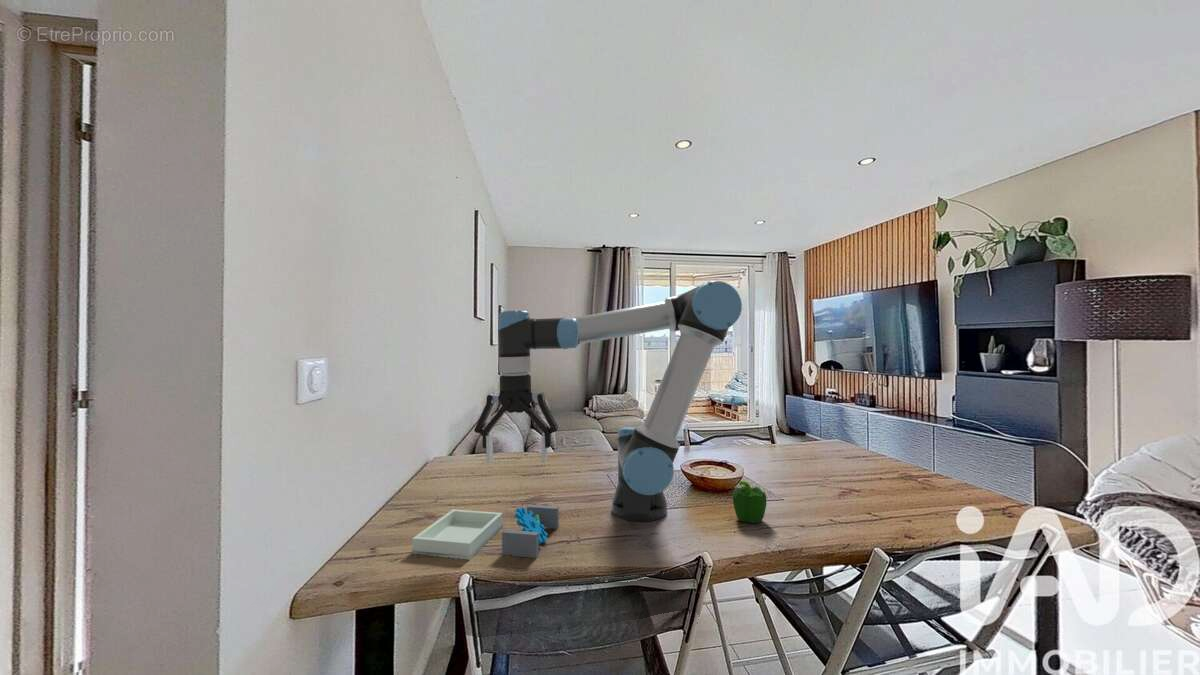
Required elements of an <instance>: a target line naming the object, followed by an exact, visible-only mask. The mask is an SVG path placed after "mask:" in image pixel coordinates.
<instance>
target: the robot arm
mask: <svg viewBox="0 0 1200 675" xmlns="http://www.w3.org/2000/svg"><path fill="white" fill-rule="evenodd" d="M742 308H743V304H742V299H741V297H740V294H739V293H738V291H737V290H736V288H734V286H732V285H731V284H729V283H727V282H725V281H722V280H721V281H720V280H708V281H705V282H703V283H701V284H700V285H698V286H697V287H694V288H692V289H690V290H688V291H686V292H684V293H680V294H677V295H674V296H669V297H666V298H665V300H664V301H659V302H654V303H649V304H645V305H644V304H643V305H639V306H633V307H626V308H621V309H616V310H609V311H603V312H600V313H594V314H593V313H592V314H588V315H582V316H576V317H556V318H555V317H554V318H553V317H550V318H531V316H530V313H529V311H527V310H505V311H502V312H500V313H499V315H498V329H497V333H498V335H497V336H498V364H499V365H498V366H499V369H498V370H499V374H500V376H499V394H498V395H497V394H494V393H489V394H488V395H486V403H485V406H484V408H483V410H482V413H481V415H480V416H479V418H478V421H477V423H476V425H475V428H474V430H473V431H474V432H475V434H477V433H478V434H480V435H481V437H482V438H481V439H482V442H481V443H482V448H483V449H486V450H485V451H486V452H485V453H486V463H491V462H493V461H494V434H493V433H490V432H491V431H492V430H493V429H494V427H495V426H496V425H497V423H498V422H499V421H500V419H501V418H502V417H503V416H504V414H505V413H506V412H507V413H508V414H513V413H519V414H520V413H524V412H525V414H527V416H529V418H530V419H531V420H532V421H533V422H534V423H535V425H537V427H538V428H539V429H540V430H541V431H542V432H543V433H542V434H541V435H540V436H541V437H540V438H541V463H543V464H544V463H546V462H547V460H548V449H549V448H551V446H552V434H553V433H555V432H557V431H558V430H559V425H558V424H557V421H556V420H555V417H554V416H553V414H552V412H551V410H550V408H549V406H548V404H547V402H546V398H545V393H543V392H540V393H538V394H537V393H536V394H533V392H532V382H531V381H532V376H531V375H530V374H529V373H531V350H559V349H562V350H569V349H576V348H577V347H578V346H579V345H582V344H588V343H594V342H598V341H599V342H601V341H606V340H612V339H616V338H623V337H629V336H634V335H639V334H645V333H646V334H647V333H653V332H657V331H662V330H670V331H671V332H678V331H679V333H680V336H679V339H678V340H677V343H676V345H675V348H674V349H673V353H672V355H671V357H670V360H669V361H668V364H667V367H666V370H665V372H664V373H663V377H662V379H661V381H660V384H659V386H658V387H657V388H658V389H657V391H656V393H655V395H654V398H653V400H652V403H651V405H650V408H649V410H648V412H647V415H646V417H645V420H644V422H643V423H642V424H639V425H637V426H625V427H620V428H619V429H618V430H617V437H616V441H617V485H616V489H615V491H614V495H613V498H612V502H611V511H612V513H613V515H615V516H616V517H617V518H620V519H623V520H626V521H631V522H632V521H633V522H650V521H655V520H659V519H662V518H664V517H665V516H666V515H667V513H668V502H667V499H666V497H665V492H664V491H665V490H666V489H667V488H668V487H669V486H670V485H671V483H672V481H673V477H674V469H675V468H674V462H675V459H676V457H677V454H678V451H679V450H680V445H679V441H678V439H677V437H678V434H679V432H680V430H681V427H682V425H683V423H684V420H685V417H686V415H687V413H688V411H689V408H690V406H691V403H692V401H693V399H694V397H695V394H696V391H697V389H698V386H699V384H700V382H701V379H702V376H703V375H704V372H705V369H706V367H707V364H708V362H709V360H710V357H711V355H712V352H713V350H714V348H716V347H717V346H720V345H721V344H723V343H724V340H725V338H726V335H727V333H728V331H729V329H730V328H731V327H732V326H733V325H734V324H735V323H736V322H738V320H739V318H740V316H741V313H742V310H743V309H742ZM533 400H534V401H535V403H537V405H538V407H539V408H540V411H541V412H542V414H543V416H544V418H545V420H546V421H545V420H543V418H542V417H541V416H540V415H539V414H538V412H537V411H536V410H535V409H534V407H533V406H532V405H531V403H532V402H533ZM497 401H498V402H499V403H500V405H501V406H500V408H499V409H498V410H497V412H496V413H495V414H494V416H493V417H492V418H491V419H490V421H489V422H488V423H487V425H486V426H485V424H486V422H487V421H488V418H489V416H490V413H491V411H492V409H493V408H494V405H495V404H496V403H497ZM546 422H547V423H546Z"/></svg>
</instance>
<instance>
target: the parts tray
mask: <svg viewBox="0 0 1200 675" xmlns="http://www.w3.org/2000/svg"><path fill="white" fill-rule="evenodd" d="M502 528H504V513H503V512H494V511H481V510H480V511H478V510H470V509H469V510H468V509H467V510H465V509H451V510H450V511H449V512H447V513H446V514H444V515H443V516H441V517H440V518H439V519H437V520H436V521H434V522H433V523H432V524H431V525H429V526H427V527H426V528H425V529H423V530H422V531H421V532H419V533H418V534H416V535H415V536H413V537H412V542H411V543H412V545H411V546H412V550H411V551H412V555H417V554H420V555H419V556H427V555H428V556H430V557H437V556H438V557H439V558H448V557H449V558H450V559H458V558H459V560H468V561H470V560H471V559H473V557H475V555H476V554H477V553H479V552H480V550H481V549H483V547H484V546H485V545H486V544H487V543H488V542H490V540H491V539H493V538H494V536H495V535H496V534H497V533H498V532H499V531H500V530H502Z"/></svg>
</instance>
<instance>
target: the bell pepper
mask: <svg viewBox="0 0 1200 675" xmlns="http://www.w3.org/2000/svg"><path fill="white" fill-rule="evenodd" d="M738 483H739V485H740V486H741V487H736V488H734V489H733V491H732V503H733V509H734V512H735V515H736V518H737V519H738V520H739V521H741V522H745V523H746V522H749V523H752V524H759V523H761V522H762V521H763V519H764V516H765V513H766V509H767V494H766V492H765V491H762V489H761V488H760V487H759V486H757V487H751V485H750V483H749V482H746V481H743V480H741V481H740V480H739V481H738ZM742 485H743V486H742Z"/></svg>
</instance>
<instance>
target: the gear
mask: <svg viewBox="0 0 1200 675" xmlns="http://www.w3.org/2000/svg"><path fill="white" fill-rule="evenodd" d="M515 512H516V513H515V514H514V517H515V518H516V519H517V520H516V524H517V526H520V527H523V528H522V529H521V531H529V532H538V540H539V545H541V544H543V543H545V542H547V540H548V538H547V537H548V532H547V531H545V530H546V528H545V526H544V525H543V524H540V522H539V521H540V519H539V518H540V517H539V515H538V514H537V515H536V516H535V517H534V518H533V517H532V515H533V512H532V511H530V510H529V512H528V513H527V507H524V506H522V507H517V508H516V510H515Z"/></svg>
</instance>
